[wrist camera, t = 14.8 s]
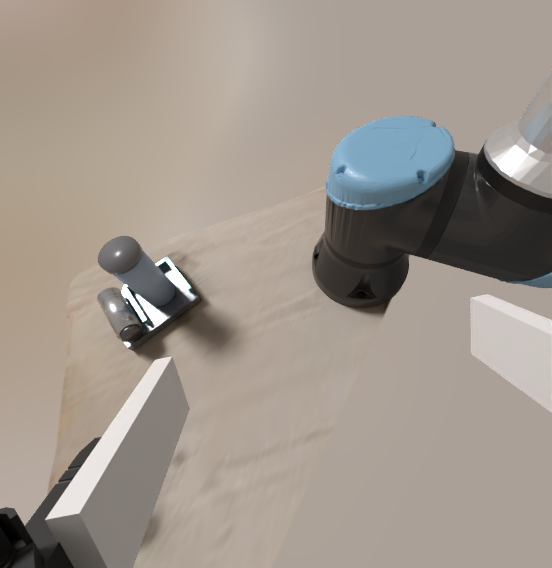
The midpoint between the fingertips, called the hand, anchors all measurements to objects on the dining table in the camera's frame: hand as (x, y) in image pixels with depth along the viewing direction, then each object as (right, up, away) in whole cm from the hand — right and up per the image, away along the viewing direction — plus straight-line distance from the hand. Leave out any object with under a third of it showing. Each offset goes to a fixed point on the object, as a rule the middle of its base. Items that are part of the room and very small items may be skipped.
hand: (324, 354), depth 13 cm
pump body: (-21, +2, +36) cm, 42 cm away
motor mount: (-23, 0, +37) cm, 43 cm away
